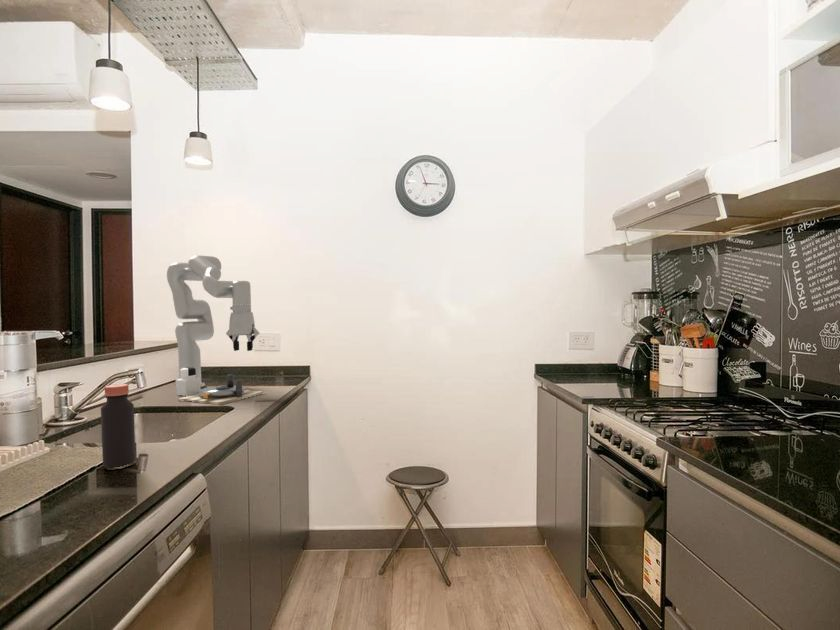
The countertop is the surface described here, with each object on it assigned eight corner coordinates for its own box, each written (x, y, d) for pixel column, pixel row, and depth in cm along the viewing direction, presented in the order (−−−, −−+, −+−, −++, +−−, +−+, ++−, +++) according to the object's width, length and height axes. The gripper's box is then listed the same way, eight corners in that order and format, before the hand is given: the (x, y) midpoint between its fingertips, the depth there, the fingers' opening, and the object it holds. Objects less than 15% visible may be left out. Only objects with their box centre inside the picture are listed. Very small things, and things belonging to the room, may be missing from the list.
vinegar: (98, 472, 112) (95, 388, 111) (108, 463, 118) (105, 384, 118) (131, 469, 114) (127, 386, 113) (139, 460, 120) (136, 382, 120)
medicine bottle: (191, 392, 213) (190, 366, 213) (201, 394, 209) (200, 367, 209) (176, 395, 207) (175, 368, 206) (186, 396, 203) (185, 369, 203)
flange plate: (184, 396, 194) (183, 380, 194) (223, 387, 213) (222, 373, 213) (215, 399, 187) (215, 382, 187) (253, 390, 205) (253, 375, 205)
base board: (177, 400, 195) (177, 381, 195) (223, 390, 217) (223, 373, 217) (220, 405, 185) (219, 384, 185) (263, 393, 207) (263, 375, 207)
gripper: (218, 309, 203) (220, 351, 204) (255, 309, 200) (257, 351, 201) (228, 309, 210) (229, 349, 211) (264, 308, 208) (265, 349, 208)
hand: (243, 350), depth 206 cm, fingers open, 5 cm apart
